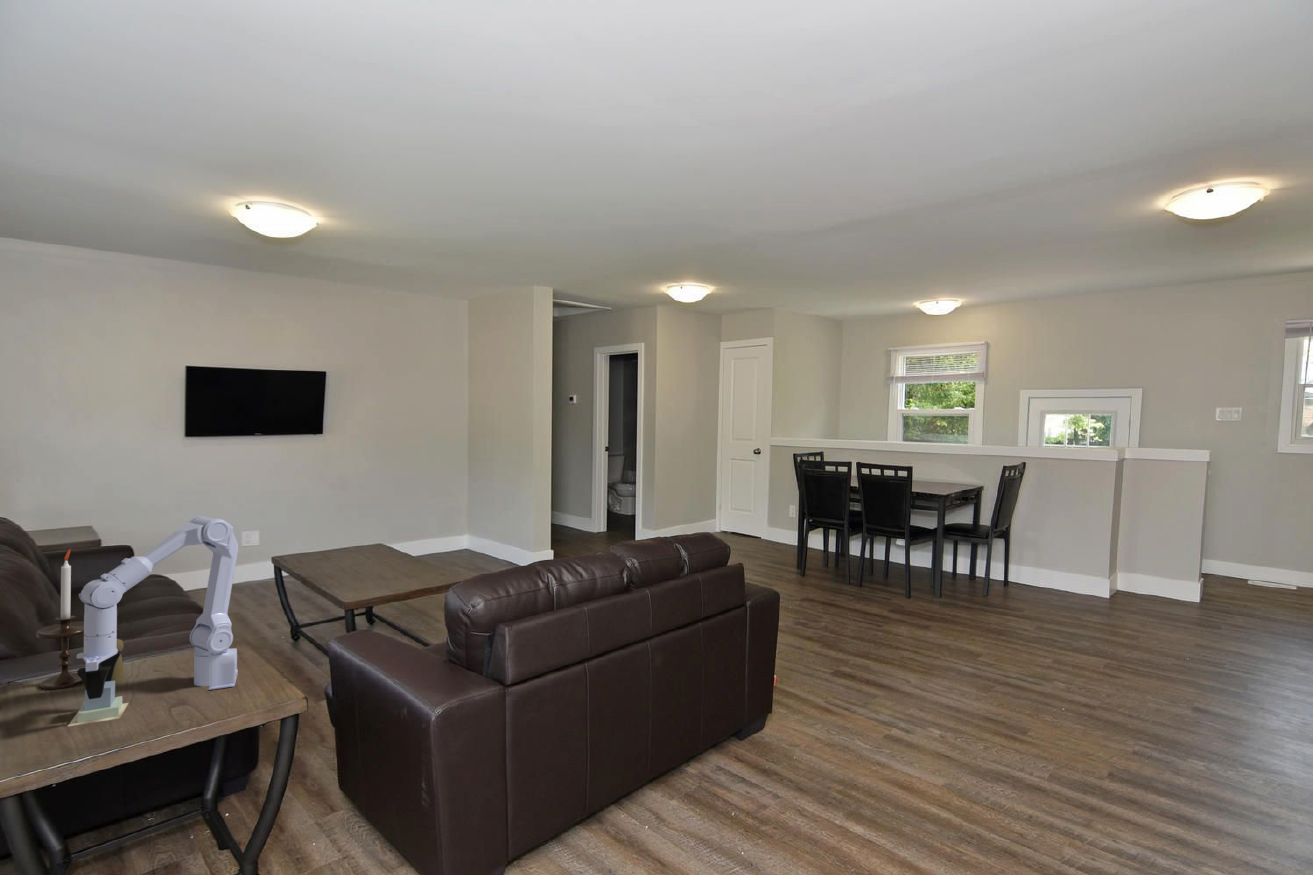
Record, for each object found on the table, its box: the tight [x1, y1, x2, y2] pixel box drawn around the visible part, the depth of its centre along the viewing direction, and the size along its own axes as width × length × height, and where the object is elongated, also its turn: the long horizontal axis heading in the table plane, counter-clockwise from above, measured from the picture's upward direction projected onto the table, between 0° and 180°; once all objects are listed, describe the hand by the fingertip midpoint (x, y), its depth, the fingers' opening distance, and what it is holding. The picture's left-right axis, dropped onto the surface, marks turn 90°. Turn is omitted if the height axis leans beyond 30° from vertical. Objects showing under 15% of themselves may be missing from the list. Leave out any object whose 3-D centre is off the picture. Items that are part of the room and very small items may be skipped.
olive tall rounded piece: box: [111, 638, 126, 684], centre depth 168 cm, size 6×6×11 cm
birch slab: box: [67, 702, 129, 727], centre depth 148 cm, size 9×9×2 cm
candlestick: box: [35, 548, 84, 691], centre depth 167 cm, size 11×11×35 cm
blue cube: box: [84, 681, 116, 711], centre depth 148 cm, size 4×4×4 cm
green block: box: [77, 695, 123, 723], centre depth 148 cm, size 7×7×2 cm
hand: (99, 691), depth 148 cm, fingers open, 7 cm apart
